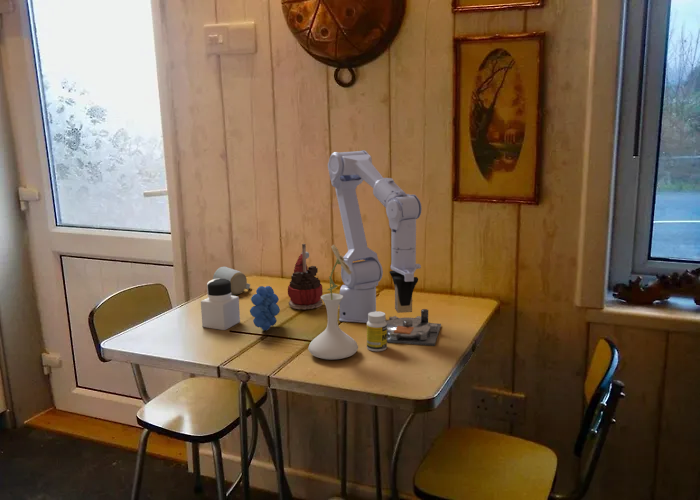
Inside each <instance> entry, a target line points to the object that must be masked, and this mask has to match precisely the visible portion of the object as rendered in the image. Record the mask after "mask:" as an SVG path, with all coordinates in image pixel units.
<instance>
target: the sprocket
mask: <svg viewBox="0 0 700 500" xmlns="http://www.w3.org/2000/svg"><path fill="white" fill-rule="evenodd" d="M388 320H389V321H387V334H388V335H390V339H393V340H398V339H399V338H418V339H419V340H425V339H427V335H428V334H429V333H430V332H438V325H437V324H438V323H437V324H430V323H431V322H429V309H428V308H427V309H426V308H423V309H421V310H420V315H418V316H416V317H398V316H397V315H393V316H389V319H388Z"/></svg>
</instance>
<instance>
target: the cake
mask: <svg viewBox="0 0 700 500" xmlns="http://www.w3.org/2000/svg"><path fill="white" fill-rule="evenodd" d="M301 248H302V249H301V250H302V251H301V253H300V255H299V256H298V257H297V260H296V262H295V264H294V269H293V272H292V275H291V276H290V277H291V280H290V281H289V284H288V286H287V295H288V297H289V298H290V299H289V302H288V306H289V307H291V308H292V309H295V310H296V309H297V310H312V309H315V308H316V309H317V308H319V307H322V306H323V304H324V301H323V300H322V299H321V296H322V295H324V293H323V285H322V283H321V280H320V279H319V278H318V277H316V276H317V274H318V273H319V272H318V267H317V266H315V265H311V266H308V264H307V259H309V257H310V253H309V252H308V251H307V249H306V248H307V247H306V243H302V244H301Z"/></svg>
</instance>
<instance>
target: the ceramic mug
mask: <svg viewBox="0 0 700 500" xmlns="http://www.w3.org/2000/svg"><path fill="white" fill-rule="evenodd" d="M213 279H227V280H229V281H230V282H231V295H232V296H236V295H240V294H242V293H243V292H244V291H245V289H247V290H249V289H251V284H250V283H248V279H247V277H246V274H244V273H243V272H241V271H239V270H236V269H233V268H232V267H231V268H230V267H228V266H220V267H218V268H217V269H216V270H215V271H214V273H213V276H212V280H213Z"/></svg>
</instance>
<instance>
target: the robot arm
mask: <svg viewBox="0 0 700 500" xmlns="http://www.w3.org/2000/svg"><path fill="white" fill-rule="evenodd" d="M327 170H328V174H329V179H330V182H331V183H330V184H331V186H332V187H334V188H335V195H336V200H337V203H338V204H337V205H338V208H339V215H340V217H341V223H342V228H343V232H344V233H343V234H344V238H345V241H346V247H347V252H346V253H345V255H343V258H344V262H345V263H346V264H347V265H348V266H349V268H350V269H349V270H350V271H351V272H352V273H351V274H350V275H349V274H348V273H347V272H346V271H345V270H344V268H343V267H342V265H341V264H340V268H341V269H340V276H341V280H342V282H343V284H342V285H341V286H340V289H339V294H340V295H343V298H342V300H341V301H340V304H339V307H338V311H339V318H338V321H339V322H348V323H361V324H362V323H364V324H365V323H366V324H367V322H368V321H369V320H368V314H369V313H370V312H375V311H377V286H379V283H380V281H381V280H382V278H383V274H384V270H383V266H382V264H381V262H380V259H379V258H378V257H379V256H378V253H377V252H376V251H374V250H372V249H371V248H369V247H368V242H367V238H366V233H365V228H364V224H363V219H362V214H361V210H360V205H359V200H358V196H357V191H356V189H357V187H358V186H359V185H361V184H362V183H363V182H365V183H366V184H368V185H369V186H370V187H371V188H372V194H373V196H374V197H375V199H376V200H378V201H379V202H380V203H381V204H382V205H383V207H384V208H385V214H386V216H387V219H388V226H389V229H391V235H390V236H391V238H390V239H391V240H390V241H391V249H390V250H391V253H390V254H391V255H390V256H391V264H390V271H389V275H390V276H391V279H392V281H393V285H394V287H395V284H396V285H397V289H398V294H399V301H400V305H401V306H409V305H410V302H411V298H412V299H413V293H414V290H415V287H416V285H417V284H418V282H419V278H418V276H415V273H416V270H417V269H418V270H419V269H420V270H421V268H422V266H421V264H420V263H417V250H416V249H417V220H418V219H419V218H420V217H421V215H422V211H423V210H422V203H421V201H420V199H419V197H418V196H417V195H416V194H410V193H406V192H405V191H404V190H403V189H402V188H401V187H400V186H399V185H398V184H397V183H396V182H395V180H394V179H393V178H392V177H383V176H382V174H381V173H380V171H379V170H378V169H377V168H376V167H375V165H374V164H373V160H372V156H371V155H370V154H369V153H368V151H366V150H357V151H342V152H341V151H340V152H338V151H334V152H332V153H331V154H330V156H329V159H328V162H327Z"/></svg>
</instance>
